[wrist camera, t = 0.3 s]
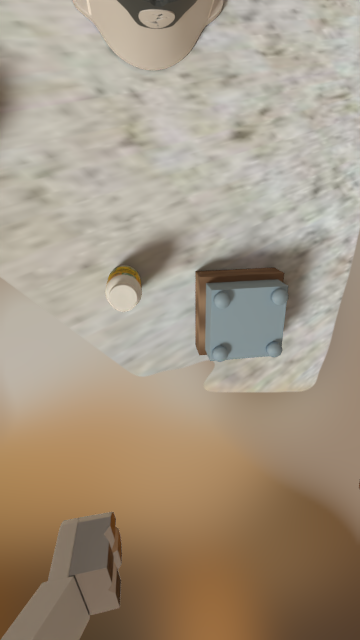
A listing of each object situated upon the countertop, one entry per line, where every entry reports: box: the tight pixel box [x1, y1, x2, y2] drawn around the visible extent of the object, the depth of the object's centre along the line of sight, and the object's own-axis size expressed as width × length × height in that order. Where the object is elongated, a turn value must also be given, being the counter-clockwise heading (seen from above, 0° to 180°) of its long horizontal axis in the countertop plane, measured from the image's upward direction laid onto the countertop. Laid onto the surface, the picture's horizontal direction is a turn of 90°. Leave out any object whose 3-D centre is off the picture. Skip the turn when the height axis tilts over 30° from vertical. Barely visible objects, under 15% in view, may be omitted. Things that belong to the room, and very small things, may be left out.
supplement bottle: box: [105, 266, 142, 312], centre depth 49 cm, size 5×5×10 cm
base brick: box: [196, 268, 284, 355], centre depth 56 cm, size 14×14×4 cm
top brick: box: [205, 279, 288, 362], centre depth 52 cm, size 12×12×5 cm
